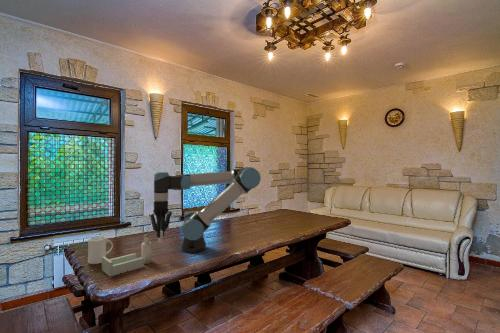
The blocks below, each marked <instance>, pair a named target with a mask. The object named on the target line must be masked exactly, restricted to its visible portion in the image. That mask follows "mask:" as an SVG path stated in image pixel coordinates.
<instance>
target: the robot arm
mask: <svg viewBox="0 0 500 333" xmlns="http://www.w3.org/2000/svg"><path fill="white" fill-rule="evenodd" d="M153 176H154V179H153V210H152V212H151V213H149V214H148V216H149V218H150V221H151V225H152V230H153V231H155V232H156V238H157V243H158V244H163V243H164V237H165V232H166V230H168V229H169V225H170V220H171V216H172V215H173V211H170V210H169V190H182V191H184V190H190V189H191V187H199V186H201V187H203V186H215V185H216V186H217V185H225V184H226V185H227V184H228V186H227V187H226V188H225V189H224V190H222V191H221V192H219V194H218V195H216V197H215V198H213V199H212V200H211V201H210V202H209V203H208V204H207V205H206V206H204V207H203V208H202V209H201V210H193V211H191V210H190V211H189V210H188V211H185V212H184V214H183V217H184V219H183V224H182V225H181V226H182V227H181V231H182V235H183V239H182V242H181V244H180V251H181V252H184V253H189V254H192V253H194V254H195V253H200V252H203V251H205V250H206V249H207V244H206V240H205V236H204V233H205V232H206V231H208V229H209V228H210V227H211V226H212V225H211V224H212V221H214V220H215V219H216V218H217V217H218V216H220V215H221V214H222V213H223V212H224V211H225V210H226V209H227V208H229V206H231V205H232V204H233V203H234V202H235V201H236V200H237V199H239V197H240V196H242V195H247V194H248V193H249V192H250V191H251V190H252V189H255V188H257V187H258V186H259V185H260V182H261V173H260V172H259V171H258V170H257V169H256V168H254V167H252V166H251V167H249V166H245V167H240V168H235V169H232V170H230V171H216V172H215V171H213V172H201V173H190V174H189V173H188V174H179V175H170V174H169V172H167V171H165V172H164V171H160V172H159V171H158V172H155V173H154V175H153Z"/></svg>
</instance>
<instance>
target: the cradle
mask: <svg viewBox="0 0 500 333" xmlns="http://www.w3.org/2000/svg"><path fill="white" fill-rule="evenodd" d="M144 267H145V264H144V258H143V257H142V258H141V257H137V253H135V252H134V253H130V254H126V255H122V256H118V257H117V256H116V257H114V258H110V259H109V258H108V257H107V256H106V257H105V256H104V257H102V263H101V271H102V272H104V273H105V274H106V275H107V276H109V277H110V278H111V277H113V276H116V275H120V273H121V274H123V273H127V271H128V272H131V271H134V270H138V269H141V268H144Z"/></svg>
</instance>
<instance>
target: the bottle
mask: <svg viewBox="0 0 500 333" xmlns="http://www.w3.org/2000/svg"><path fill="white" fill-rule="evenodd" d="M150 236H151V235H150V233H148V234H144V235H143V242H141V245H140V246H141V248H140V249H141V252H140V253H141V255H140V258H142V257H143V258H144V265H146V264H151V263H152V261H153V260H152V259H153V258H152V257H153V256H152V253H153V242H152V241H150Z"/></svg>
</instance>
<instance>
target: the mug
mask: <svg viewBox="0 0 500 333" xmlns="http://www.w3.org/2000/svg"><path fill="white" fill-rule="evenodd" d="M87 242H88V243H87V244H88V246H87V247H88V248H87V253H88V255H87V263H88V264H89V265H95V264H96V265H97V264H102V257H104V256H105V257H106V258H107V254H109V253H110V252H112V250H113V248H114V245H113V241H112V240H110V239H107V237H106V236H94V237H93V236H92V237H90V238H88V240H87ZM107 242H109V243H110V244H111V248H110V249H109V250H108V251H106V250H107Z"/></svg>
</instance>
